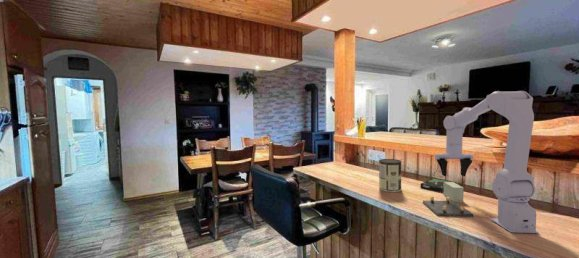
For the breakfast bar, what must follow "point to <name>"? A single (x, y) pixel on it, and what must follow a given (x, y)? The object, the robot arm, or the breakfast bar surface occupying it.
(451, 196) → the block
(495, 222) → the robot arm
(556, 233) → the breakfast bar surface
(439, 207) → the plate
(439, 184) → the disk drive
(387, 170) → the coffee can
